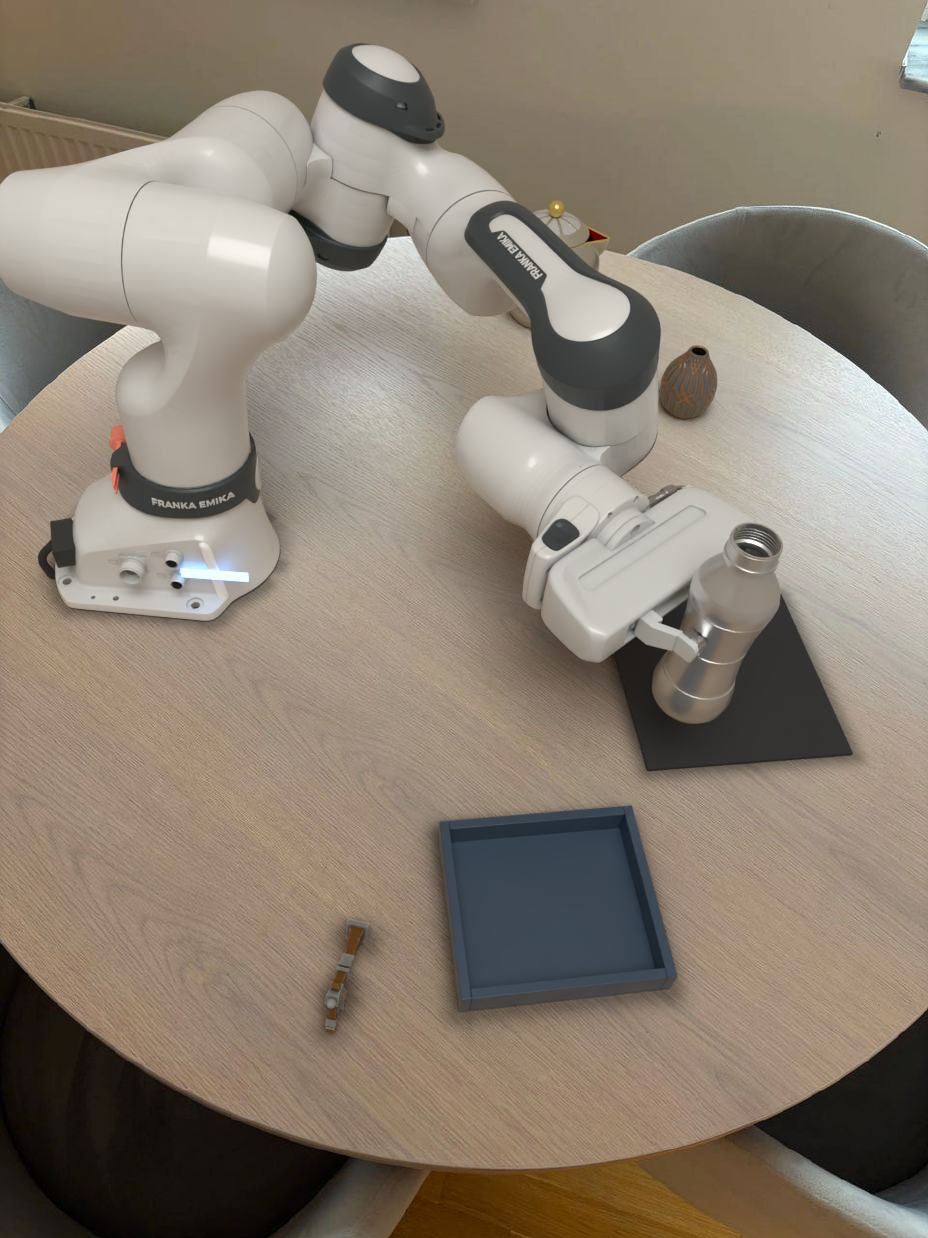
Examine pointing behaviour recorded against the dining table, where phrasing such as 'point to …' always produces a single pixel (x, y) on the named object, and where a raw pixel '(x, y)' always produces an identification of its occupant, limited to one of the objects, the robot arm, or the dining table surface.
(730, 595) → the silver metal bottle
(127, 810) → the dining table surface
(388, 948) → the dining table surface
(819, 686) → the mat
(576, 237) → the teapot
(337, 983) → the wooden post with brackets
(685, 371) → the vase
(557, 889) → the tray
